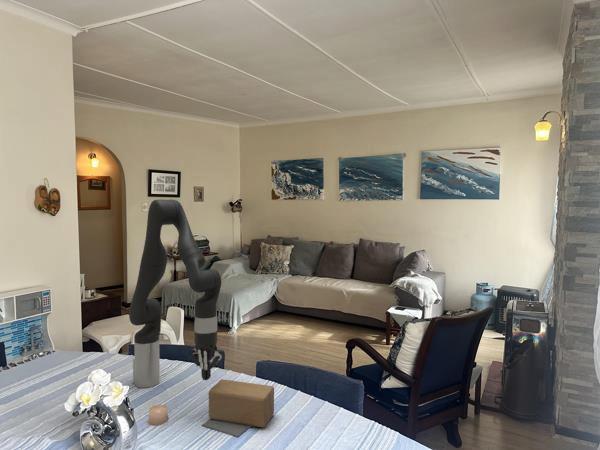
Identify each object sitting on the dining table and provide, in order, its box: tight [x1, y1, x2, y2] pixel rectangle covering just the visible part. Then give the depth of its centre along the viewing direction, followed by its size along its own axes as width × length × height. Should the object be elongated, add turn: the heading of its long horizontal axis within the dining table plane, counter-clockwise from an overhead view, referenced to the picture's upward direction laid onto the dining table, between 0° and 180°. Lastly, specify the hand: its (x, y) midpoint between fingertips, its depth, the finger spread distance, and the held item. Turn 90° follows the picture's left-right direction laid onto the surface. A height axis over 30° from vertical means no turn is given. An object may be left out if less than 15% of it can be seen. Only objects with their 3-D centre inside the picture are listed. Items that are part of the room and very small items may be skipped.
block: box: [208, 378, 275, 428], centre depth 142 cm, size 10×10×20 cm
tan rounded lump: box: [148, 404, 169, 426], centre depth 140 cm, size 6×6×4 cm
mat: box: [201, 418, 252, 438], centre depth 140 cm, size 14×14×1 cm
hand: (206, 379), depth 145 cm, fingers closed
